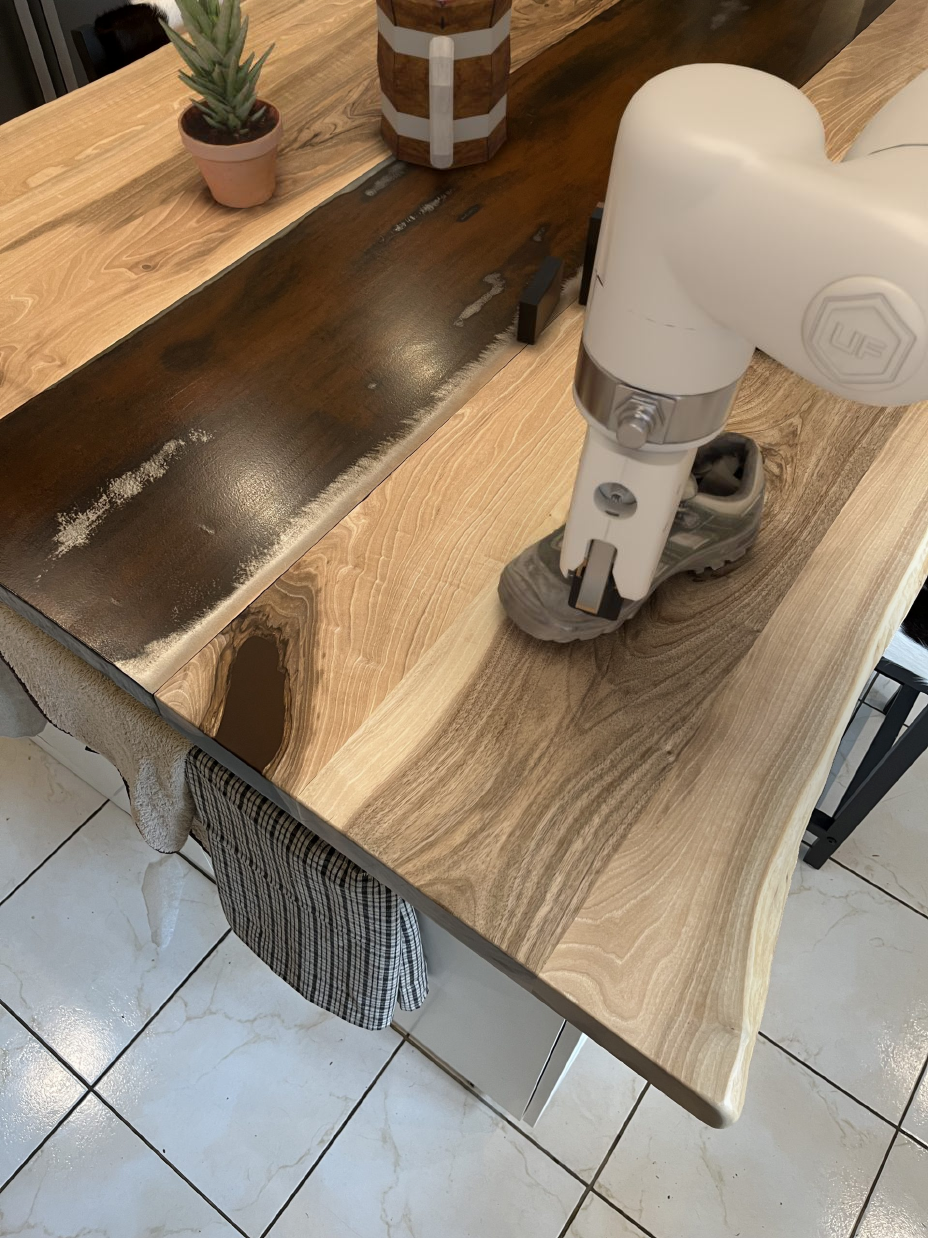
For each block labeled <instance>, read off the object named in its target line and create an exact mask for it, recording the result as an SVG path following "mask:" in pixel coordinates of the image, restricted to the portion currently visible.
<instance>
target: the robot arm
mask: <svg viewBox="0 0 928 1238" xmlns="http://www.w3.org/2000/svg"><path fill="white" fill-rule="evenodd" d="M821 117H822V116H821V114H820V113H819V111H818V109H817V108H816V106H815V105H814V104H813V103H812V102H811V100H810V99H809V98H808V97H807V96H806V94H804V93H803V92H802V91H801V90H800V89H798V87H796V86H795V85H793V84H791V83H790V82H788V81H786V80H784V79H782V78H780V77H778V76H776V75H773V74H771V73H768V72H766V71H763V70H759V69H756V68H751V67H748V66H743V65H737V64H731V63H730V64H729V63H716V62H715V63H709V62H708V63H691V64H685V65H680V66H677V67H673V68H670V69H668V70H666V71H663V72H661V73H659V74H657V75H655V76H653V77H652V78H649V80H647V81H646V82H645V83H644V84H643V85H642V86H641V87H640V88H639V89H638V90H637V91H636V92H635V93H634V94H633V96H632V97H631V99H630V100H629V102H628V104H627V106H626V108H625V109H624V111H623V114H622V116H621V118H620V122H619V127H618V132H617V134H616V140H615V143H614V149H613V155H612V159H611V160H612V161H611V164H610V165H611V166H610V172H609V177H608V183H607V188H606V193H605V199H604V203H605V205H604V211H603V216H602V222H601V228H600V233H599V239H598V245H597V250H596V256H595V262H594V267H593V273H592V279H591V284H590V290H589V296H588V301H587V306H586V307H585V313H584V319H583V324H582V330H581V334H580V335H581V336H580V340H579V347H578V352H577V357H576V363H575V368H574V374H573V381H572V387H571V391H572V399H573V401H574V405H575V407H576V408H577V410H578V412H579V414H580V416H581V417H582V418H583V419H584V420H585V422H586V423H587V425H586V431H585V435H584V438H583V443H582V447H581V451H580V457H579V459H578V466H577V469H576V475H575V479H574V485H573V488H572V494H571V498H570V502H569V508H568V513H567V517H566V522H565V523H566V527H565V533H564V538H563V544H562V550H561V557H560V569H561V571H562V573H563V575H564V576H565V578H568V576H569V575H570V576H573V575H574V577H573V581H572V586H571V590H570V594H569V599H568V605H569V606H570V607H571V608H574V609H577V610H580V611H582V612H583V613H585V614H587V615H590V616H593V617H601V618H604V619H607V620H610V621H616V620H617V619H618V617H619V614H620V611H621V608H622V606H623V603H624V600H625V598H627V599H631V600H634V601H637V600H639V599H641V598H643V597H644V596H646V594H647V593H648V590H649V588H650V585H651V582H652V580H653V577H654V574H655V571H656V568H657V565H658V563H659V560H660V557H661V554H662V552H663V549H664V546H665V543H666V540H667V537H668V535H669V532H670V529H671V526H672V523H673V520H674V518H675V515H676V512H677V509H678V506H679V503H680V501H681V498H682V495H683V492H684V489H685V486H686V483H687V480H688V477H689V474H690V472H691V468H692V465H693V462H694V459H695V456H696V453H697V449H698V447H699V446H702V445H704V444H706V443H708V442H710V441H711V440H713V439H714V438H715V437H716V436H718V435H720V434H722V433H723V432H724V430H725V428H726V426H727V425H728V423H729V421H730V418H731V416H732V413H733V410H734V407H735V405H736V402H737V400H738V397H739V394H740V392H741V389H742V386H743V384H744V380H745V378H746V375H747V372H748V370H749V367H750V363H751V362H752V359H753V355H754V353H755V351H756V349H755V348H756V347H757V348H759V349H760V350H759V351H761V350H762V351H761V352H763V353H765V354H766V355H768V356H769V357H770V358H772V359H774V360H775V361H776V362H777V363H779V364H781V365H782V366H783V367H785V368H787V369H788V370H790V371H791V372H793V373H794V374H796V375H798V376H799V377H801V378H802V379H804V380H806V381H808V382H809V383H811V384H812V385H814V386H816V387H817V388H819V389H822V390H824V391H826V392H828V393H830V394H832V395H835V396H836V397H839V398H841V399H844V400H848V401H851V402H854V403H858V404H861V405H865V406H871V407H879V408H880V407H881V408H889V407H890V408H896V407H904V406H911V405H915V404H919V403H921V402H925V401H928V67H927V68H926V69H925V70H923V71H922V72H920V73H919V74H918V75H917V76H916V77H915V78H913V79H911V80H910V81H909V83H907V84H906V85H904V86H903V88H901V89H900V90H899V91H898V92H896V93H895V94H894V95H893V96H892V97H891V98H890V99H888V101H887V102H886V103H885V104H884V105H883V106H882V107H881V108H880V109H879V110H878V111H877V112H876V113H875V114H874V115H873V116H872V117H871V118H870V120H869V121H868V122H867V124H866V125H865V126H864V127H863V129H862V130H861V131H860V133H859V134H858V136H857V137H856V138H855V140H854V141H853V142H852V144H851V145H850V146H849V148H848V149H847V151H846V152H845V154H844V155H843V157H842V159H840V161H839V162H835V161H832V160H831V159H829V158H828V156H827V154H826V133H825V132H826V131H825V126H824V123H823V120H822V118H821Z"/></svg>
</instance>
